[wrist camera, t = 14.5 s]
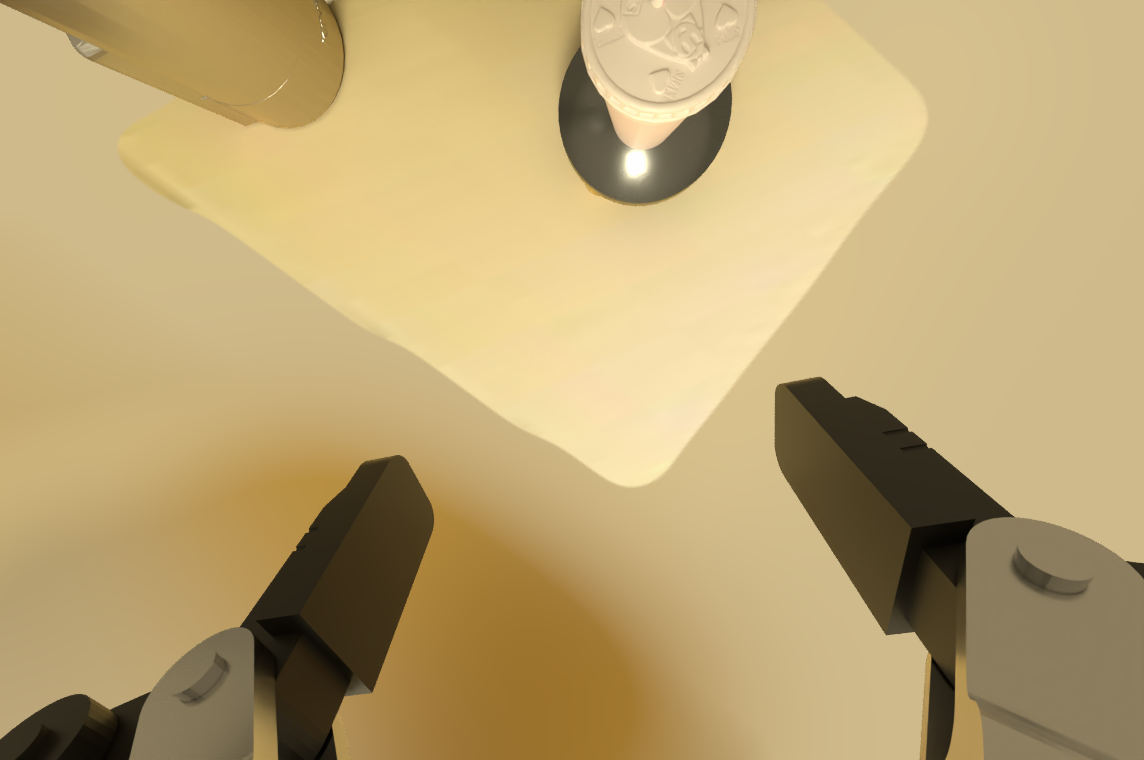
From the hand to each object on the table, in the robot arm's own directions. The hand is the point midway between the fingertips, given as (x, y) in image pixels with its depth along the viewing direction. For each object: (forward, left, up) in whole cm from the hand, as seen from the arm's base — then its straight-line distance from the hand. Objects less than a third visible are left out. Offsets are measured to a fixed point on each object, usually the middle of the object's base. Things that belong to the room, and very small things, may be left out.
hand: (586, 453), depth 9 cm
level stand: (+7, +12, -22) cm, 26 cm away
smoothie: (+7, +11, -19) cm, 23 cm away
